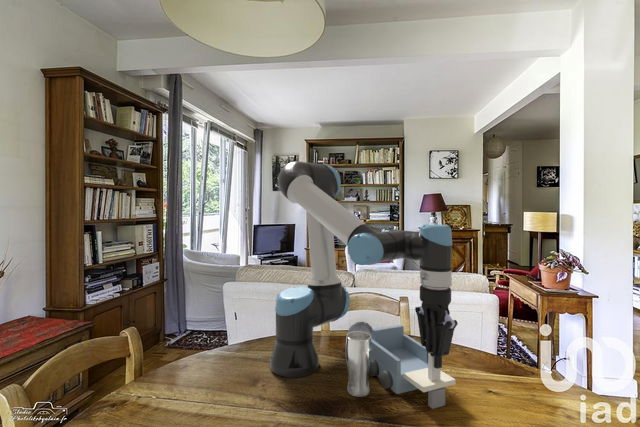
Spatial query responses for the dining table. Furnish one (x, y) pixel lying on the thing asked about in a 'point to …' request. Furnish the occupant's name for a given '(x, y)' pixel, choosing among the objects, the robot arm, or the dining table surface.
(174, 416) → the dining table surface
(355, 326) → the canned food
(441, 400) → the trailer
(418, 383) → the tailgate
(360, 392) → the beer glass
